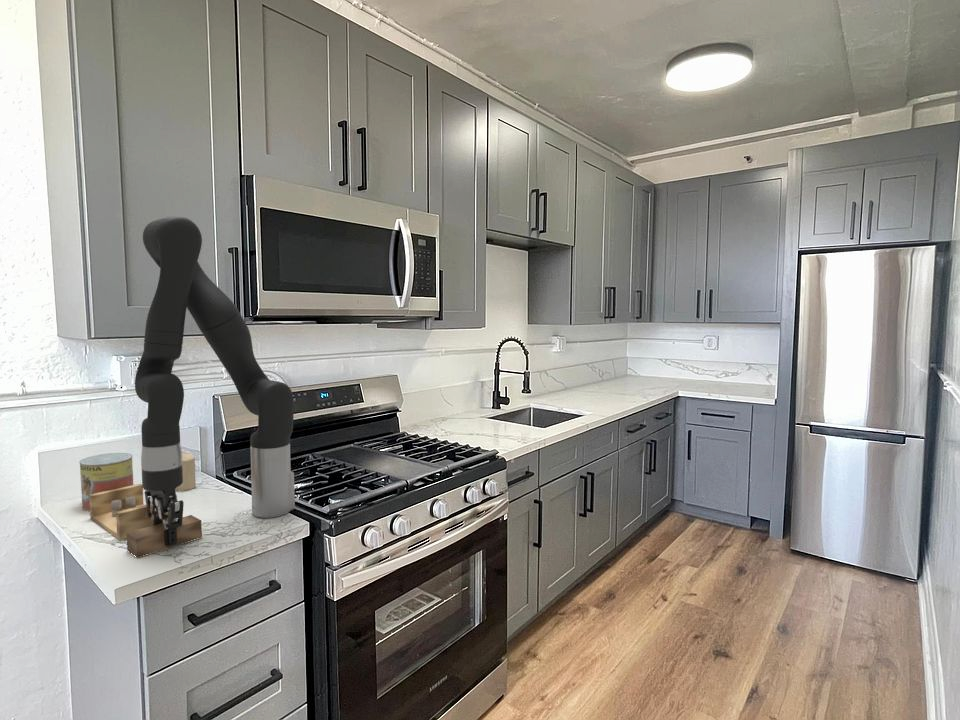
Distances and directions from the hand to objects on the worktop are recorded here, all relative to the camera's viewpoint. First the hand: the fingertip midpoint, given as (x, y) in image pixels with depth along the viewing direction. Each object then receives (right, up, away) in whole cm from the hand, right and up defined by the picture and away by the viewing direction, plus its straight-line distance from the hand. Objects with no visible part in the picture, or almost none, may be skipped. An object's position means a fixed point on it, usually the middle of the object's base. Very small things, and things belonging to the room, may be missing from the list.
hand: (165, 541), depth 117 cm
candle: (-16, +3, +37) cm, 40 cm away
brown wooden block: (0, -1, 0) cm, 1 cm away
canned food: (-28, +2, +24) cm, 37 cm away
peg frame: (-15, +1, +12) cm, 19 cm away
